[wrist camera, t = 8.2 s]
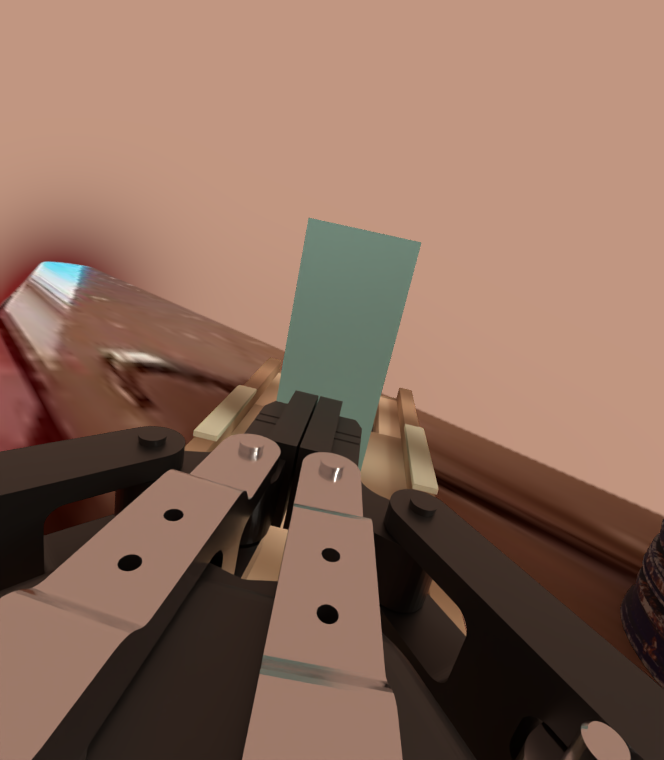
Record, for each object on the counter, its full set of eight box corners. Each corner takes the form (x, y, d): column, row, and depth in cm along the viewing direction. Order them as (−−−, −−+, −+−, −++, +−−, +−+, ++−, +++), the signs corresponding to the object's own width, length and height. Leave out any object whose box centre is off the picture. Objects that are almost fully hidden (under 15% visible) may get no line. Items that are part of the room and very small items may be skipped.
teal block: (358, 478, 22) (421, 242, 18) (266, 456, 22) (308, 217, 18) (361, 436, 27) (412, 242, 23) (285, 418, 27) (322, 223, 23)
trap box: (505, 1165, 7) (586, 1090, 6) (-185, 962, 7) (-229, 857, 6) (403, 423, 35) (413, 387, 34) (263, 390, 36) (269, 353, 35)
